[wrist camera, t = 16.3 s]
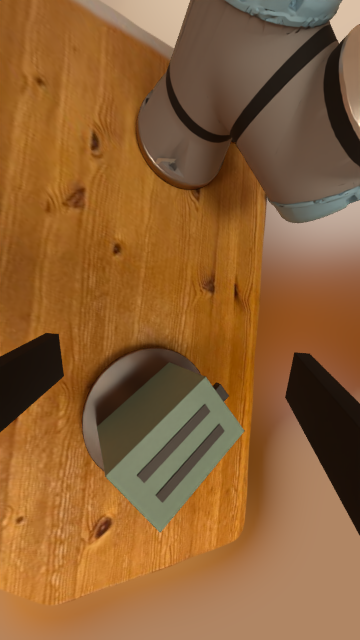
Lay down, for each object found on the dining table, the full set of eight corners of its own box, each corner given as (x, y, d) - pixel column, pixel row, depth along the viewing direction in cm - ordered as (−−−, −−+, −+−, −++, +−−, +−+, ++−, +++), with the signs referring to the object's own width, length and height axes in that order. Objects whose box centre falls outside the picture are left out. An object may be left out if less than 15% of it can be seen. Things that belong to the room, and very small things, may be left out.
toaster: (138, 504, 34) (168, 594, 22) (49, 412, 29) (31, 466, 18) (224, 409, 40) (281, 442, 29) (161, 322, 36) (199, 320, 24)
